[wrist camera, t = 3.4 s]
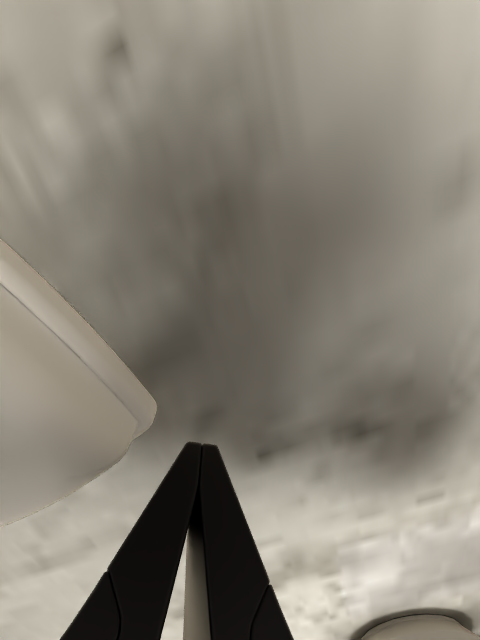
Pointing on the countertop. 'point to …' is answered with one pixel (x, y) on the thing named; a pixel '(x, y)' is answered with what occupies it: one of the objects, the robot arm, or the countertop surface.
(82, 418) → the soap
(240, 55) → the countertop surface
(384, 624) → the can
